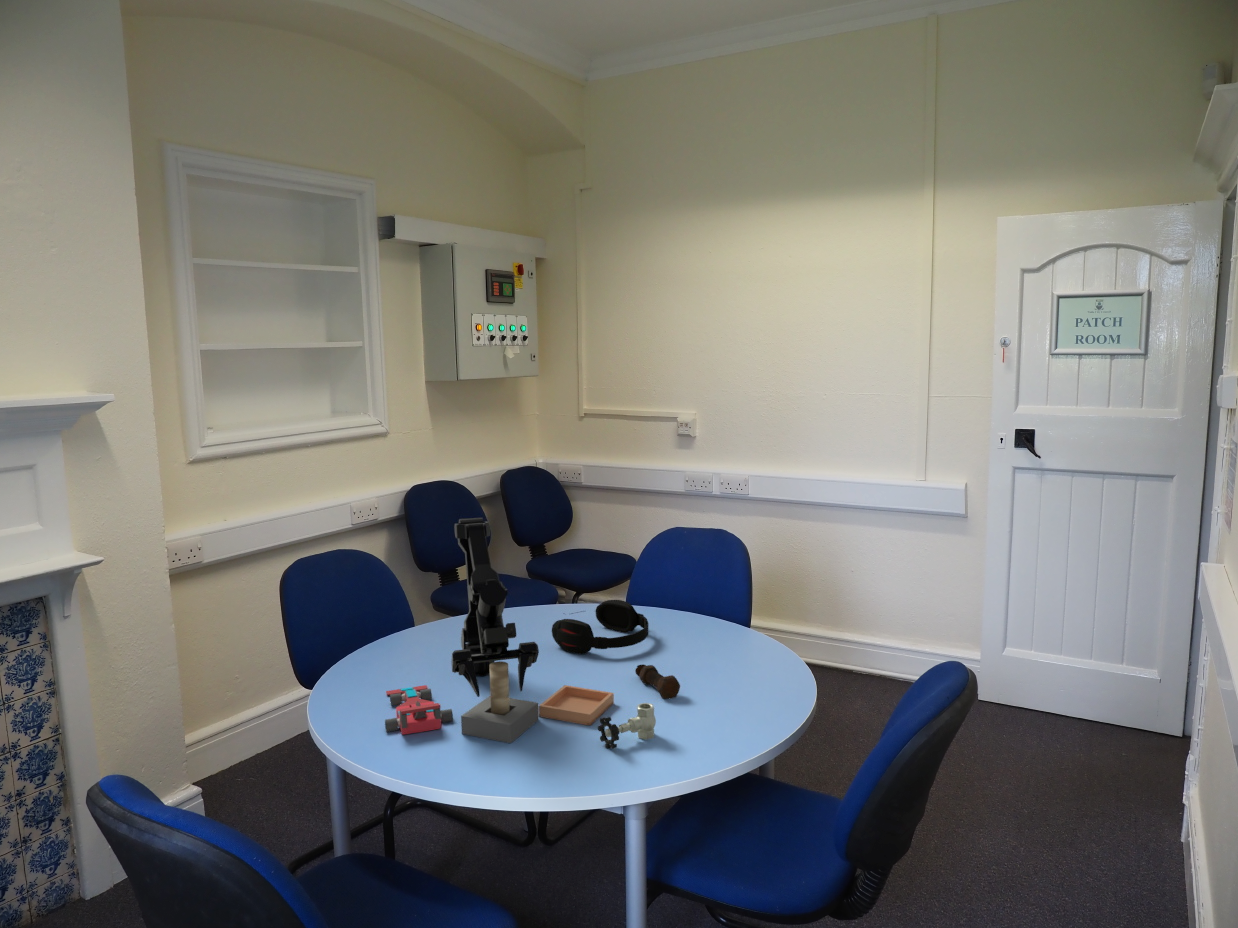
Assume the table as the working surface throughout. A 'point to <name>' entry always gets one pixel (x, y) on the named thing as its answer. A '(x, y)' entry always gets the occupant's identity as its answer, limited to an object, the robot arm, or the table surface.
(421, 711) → the race car
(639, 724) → the valve
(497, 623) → the robot arm
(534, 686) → the table surface
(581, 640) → the headset
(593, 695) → the tray
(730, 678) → the table surface
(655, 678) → the bolt
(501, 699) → the dowel
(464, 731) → the holder
